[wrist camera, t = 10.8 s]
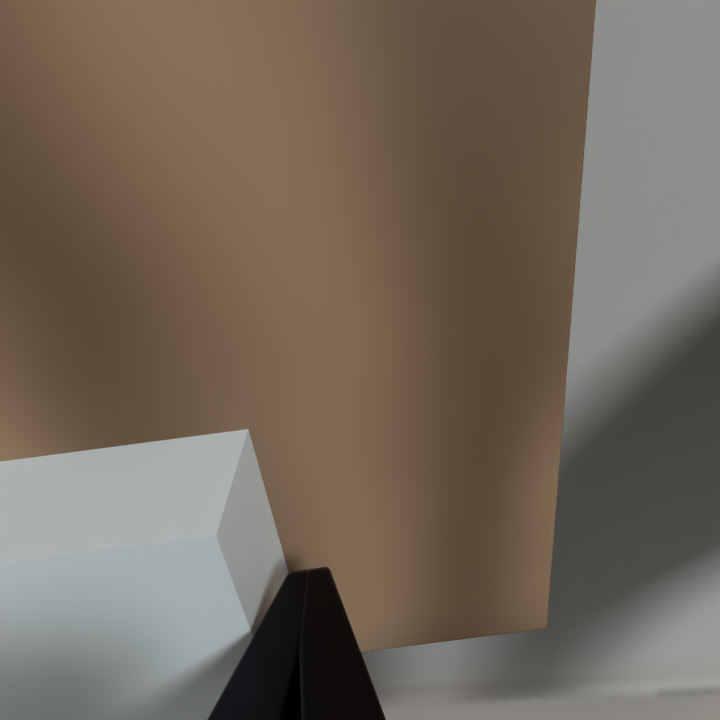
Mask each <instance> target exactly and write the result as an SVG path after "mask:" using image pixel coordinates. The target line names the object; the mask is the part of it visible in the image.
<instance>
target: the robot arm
mask: <svg viewBox="0 0 720 720" xmlns="http://www.w3.org/2000/svg"><path fill="white" fill-rule="evenodd" d="M207 720H386V719H385V716H384V713H383V711H382V708H381V705H380V703H379V700H378V697H377V694H376V692H375V689H374V686H373V684H372V681H371V678H370V676H369V673H368V670H367V667H366V665H365V662H364V659H363V657H362V654H361V651H360V649H359V646H358V643H357V640H356V638H355V635H354V632H353V630H352V627H351V624H350V622H349V619H348V616H347V613H346V611H345V608H344V605H343V603H342V600H341V597H340V595H339V592H338V589H337V586H336V584H335V581H334V578H333V576H332V573H331V570H330V569H329V568H328V567H320V568H312V569H305V570H297V571H292V572H290V573H288V574H287V576H286V577H285V579H284V581H283V583H282V585H281V586H280V588H279V590H278V592H277V594H276V595H275V597H274V599H273V601H272V603H271V605H270V606H269V608H268V610H267V612H266V614H265V615H264V617H263V619H262V621H261V623H260V625H259V626H258V628H257V630H256V632H255V634H254V635H253V637H252V639H251V641H250V643H249V645H248V646H247V648H246V650H245V652H244V654H243V655H242V657H241V659H240V661H239V663H238V665H237V666H236V668H235V670H234V672H233V674H232V675H231V677H230V679H229V681H228V683H227V685H226V686H225V688H224V690H223V692H222V694H221V695H220V697H219V699H218V701H217V703H216V705H215V706H214V708H213V710H212V712H211V714H210V715H209V717H208V719H207Z"/></svg>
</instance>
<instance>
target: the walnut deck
mask: <svg viewBox="0 0 720 720" xmlns="http://www.w3.org/2000/svg"><path fill="white" fill-rule="evenodd" d="M595 6H596V0H0V462H1V461H9V460H16V459H24V458H32V457H39V456H47V455H55V454H62V453H70V452H77V451H85V450H93V449H100V448H108V447H116V446H123V445H131V444H138V443H146V442H154V441H161V440H169V439H177V438H184V437H192V436H199V435H207V434H215V433H222V432H230V431H238V430H245V429H249V433H250V437H251V440H252V444H253V447H254V451H255V454H256V458H257V461H258V465H259V469H260V472H261V476H262V479H263V483H264V486H265V490H266V494H267V497H268V501H269V504H270V508H271V511H272V515H273V519H274V522H275V526H276V529H277V533H278V536H279V540H280V543H281V547H282V551H283V554H284V558H285V561H286V565H287V568H288V572H289V573H290V572H292V571H297V570H305V569H312V568H320V567H328V568H329V569H330V570H331V573H332V576H333V578H334V581H335V584H336V586H337V589H338V592H339V595H340V597H341V600H342V603H343V605H344V608H345V611H346V613H347V616H348V619H349V622H350V624H351V627H352V630H353V632H354V635H355V638H356V640H357V643H358V646H359V649H360V651H361V652H366V651H374V650H382V649H389V648H397V647H405V646H412V645H420V644H428V643H436V642H443V641H451V640H459V639H466V638H474V637H482V636H490V635H497V634H505V633H513V632H520V631H528V630H536V629H544V628H547V616H548V603H549V590H550V578H551V565H552V552H553V540H554V527H555V514H556V501H557V489H558V476H559V463H560V451H561V438H562V425H563V413H564V400H565V387H566V374H567V362H568V349H569V336H570V324H571V311H572V298H573V285H574V273H575V260H576V247H577V235H578V222H579V209H580V197H581V184H582V171H583V158H584V146H585V133H586V120H587V108H588V95H589V82H590V69H591V57H592V44H593V31H594V19H595Z"/></svg>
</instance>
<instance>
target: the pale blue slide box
mask: <svg viewBox="0 0 720 720" xmlns="http://www.w3.org/2000/svg"><path fill="white" fill-rule="evenodd" d="M288 573H289V572H288V568H287V565H286V561H285V558H284V554H283V551H282V547H281V543H280V540H279V536H278V533H277V529H276V526H275V522H274V519H273V515H272V511H271V508H270V504H269V501H268V497H267V494H266V490H265V486H264V483H263V479H262V476H261V472H260V469H259V465H258V461H257V458H256V454H255V451H254V447H253V444H252V440H251V437H250V433H249V429H245V430H238V431H230V432H222V433H215V434H207V435H199V436H192V437H184V438H177V439H169V440H161V441H154V442H146V443H138V444H131V445H123V446H116V447H108V448H100V449H93V450H85V451H77V452H70V453H62V454H55V455H47V456H39V457H32V458H24V459H16V460H9V461H1V462H0V720H207V719H208V717H209V715H210V714H211V712H212V710H213V708H214V706H215V705H216V703H217V701H218V699H219V697H220V695H221V694H222V692H223V690H224V688H225V686H226V685H227V683H228V681H229V679H230V677H231V675H232V674H233V672H234V670H235V668H236V666H237V665H238V663H239V661H240V659H241V657H242V655H243V654H244V652H245V650H246V648H247V646H248V645H249V643H250V641H251V639H252V637H253V635H254V634H255V632H256V630H257V628H258V626H259V625H260V623H261V621H262V619H263V617H264V615H265V614H266V612H267V610H268V608H269V606H270V605H271V603H272V601H273V599H274V597H275V595H276V594H277V592H278V590H279V588H280V586H281V585H282V583H283V581H284V579H285V577H286V576H287V574H288Z"/></svg>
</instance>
